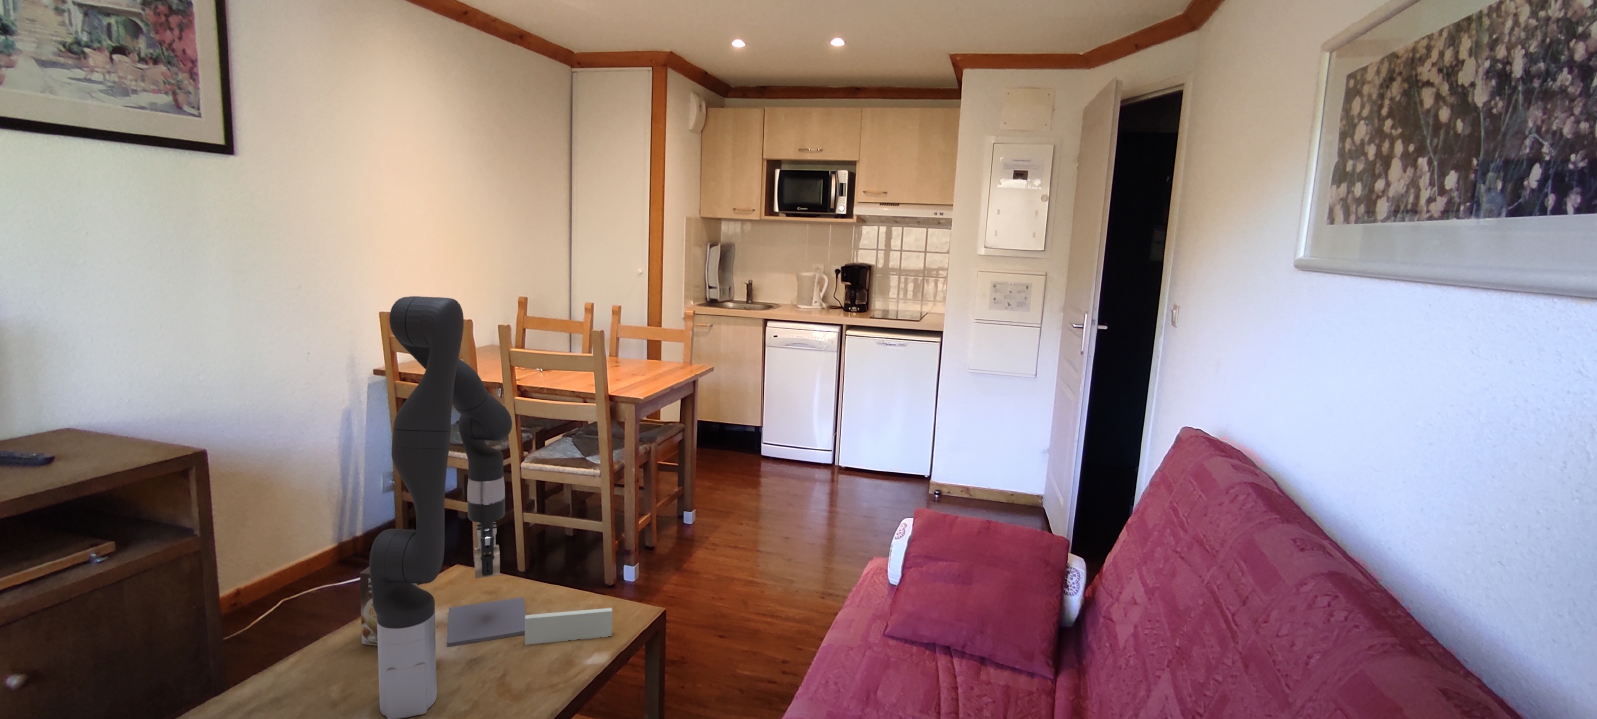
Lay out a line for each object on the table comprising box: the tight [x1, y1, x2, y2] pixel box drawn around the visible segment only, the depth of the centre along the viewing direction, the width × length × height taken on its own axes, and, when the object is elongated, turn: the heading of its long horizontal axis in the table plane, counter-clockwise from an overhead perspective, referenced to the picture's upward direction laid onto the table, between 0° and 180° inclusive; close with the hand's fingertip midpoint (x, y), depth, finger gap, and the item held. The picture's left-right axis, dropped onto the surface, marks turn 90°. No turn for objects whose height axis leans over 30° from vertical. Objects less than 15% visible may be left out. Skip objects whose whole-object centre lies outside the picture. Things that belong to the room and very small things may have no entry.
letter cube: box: [474, 544, 501, 580], centre depth 159 cm, size 5×5×5 cm
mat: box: [446, 597, 527, 648], centre depth 161 cm, size 16×16×1 cm
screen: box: [524, 607, 613, 646], centre depth 156 cm, size 2×18×6 cm, turn 107°
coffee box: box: [359, 566, 418, 647], centre depth 151 cm, size 9×6×16 cm
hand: (487, 569), depth 159 cm, fingers closed on letter cube, 5 cm apart
